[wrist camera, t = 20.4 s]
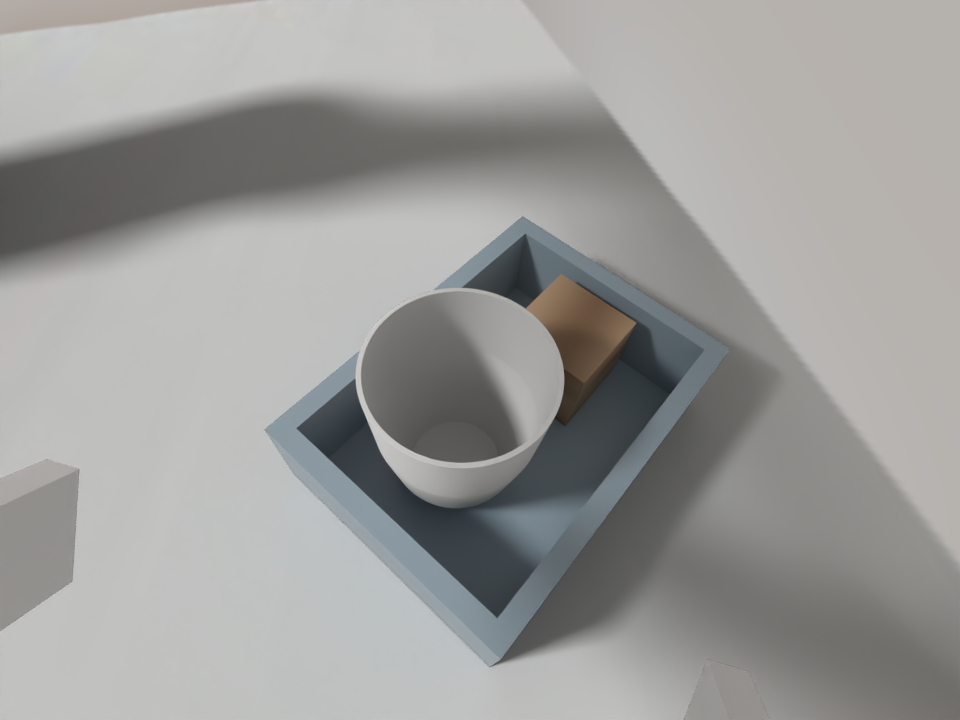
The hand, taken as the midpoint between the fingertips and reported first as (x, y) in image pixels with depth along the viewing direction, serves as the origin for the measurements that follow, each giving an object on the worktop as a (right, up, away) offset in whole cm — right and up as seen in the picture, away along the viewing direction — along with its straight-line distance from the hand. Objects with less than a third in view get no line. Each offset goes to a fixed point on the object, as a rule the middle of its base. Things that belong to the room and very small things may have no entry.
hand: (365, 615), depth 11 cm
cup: (+1, -1, +19) cm, 19 cm away
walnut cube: (+7, +4, +22) cm, 24 cm away
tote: (+4, +1, +21) cm, 21 cm away
